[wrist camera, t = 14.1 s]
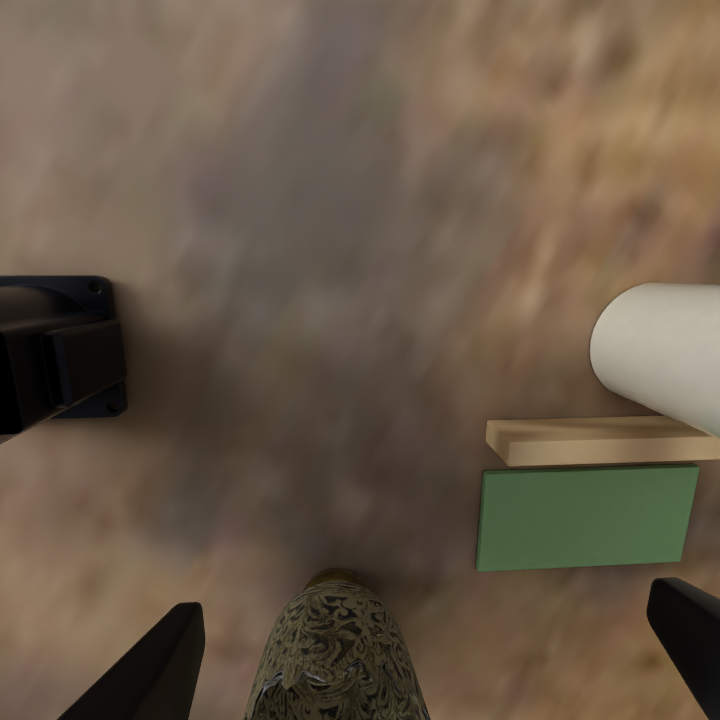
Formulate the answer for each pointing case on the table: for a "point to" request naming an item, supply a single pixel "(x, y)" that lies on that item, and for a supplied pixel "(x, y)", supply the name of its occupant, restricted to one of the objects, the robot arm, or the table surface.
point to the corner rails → (598, 440)
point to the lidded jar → (663, 351)
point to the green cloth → (584, 516)
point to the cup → (336, 658)
